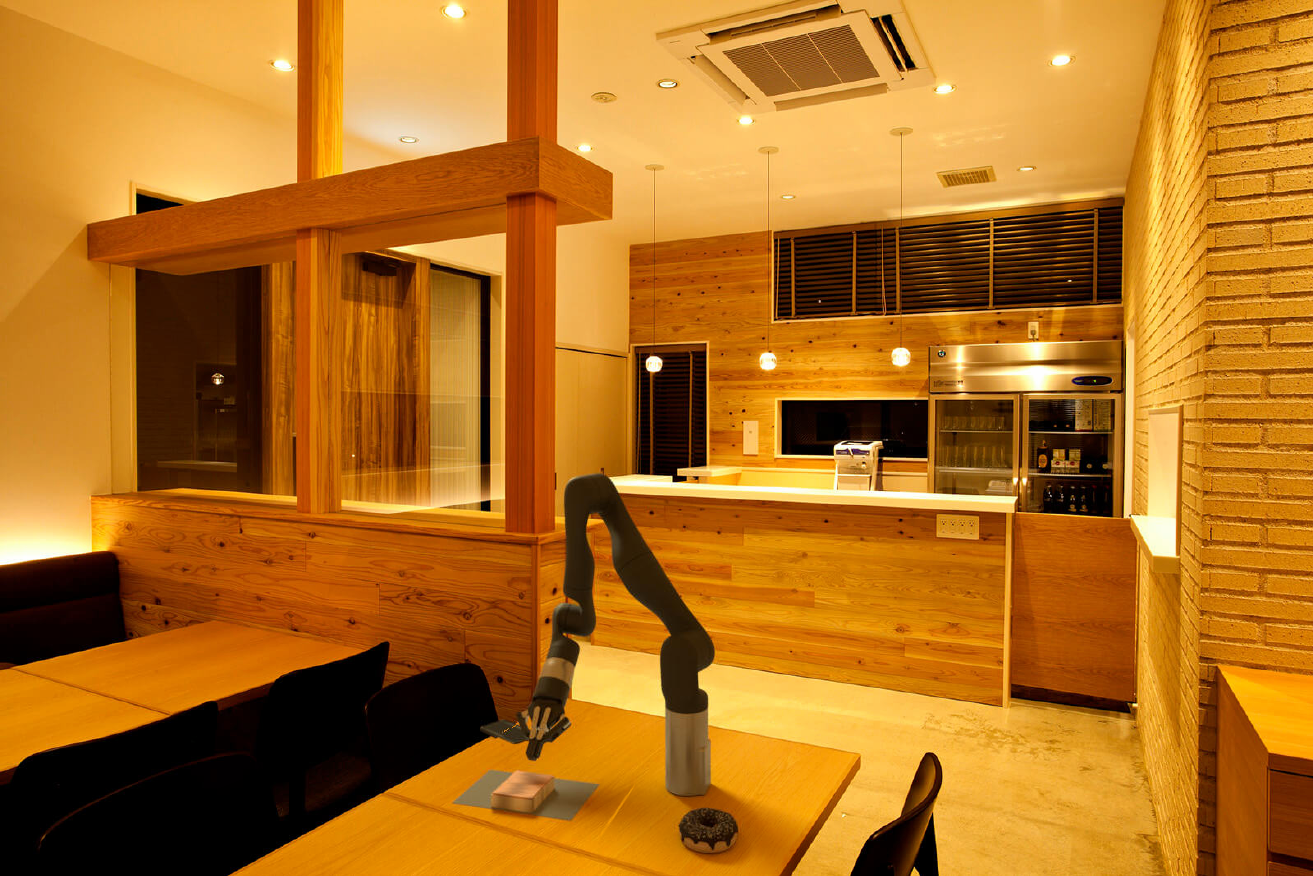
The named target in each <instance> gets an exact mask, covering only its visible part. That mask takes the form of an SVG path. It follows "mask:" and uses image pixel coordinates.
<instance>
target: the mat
mask: <svg viewBox="0 0 1313 876" xmlns="http://www.w3.org/2000/svg"><path fill="white" fill-rule="evenodd" d="M513 773H514V772H511V771H501V770H494V769H489V770H488V771H487V772H486V773H485V774H483V775H482V776H481V777H480V778H479V779H478V780H476V781H475V782H474V783H473V784H471V786H470V787H468V789H466V790H465V791H464V792H463V793H462V794H460V795H459V796H458V797H457V798H455V800H453V801H452V802H451V804H456V805H462V806H469V807H475V808H483V809H490V810H495V811H503V812H510V813H517V814H523V815H529V816H530V815H531V816H537V817H544V818H549V819H550V818H551V819H557V820H565V821H570V822H571V821H572V820H573V818H574V817H575V816H576V815H577V814H578V813H579V811H580V810H581V809H582V807H583V806H584V805H585V803H586V802H587V801H588V799H590V797H591V796H592V795H593V794H594V792H595V791H596V790H597V789H598V787H599V786H600V783H593V782H586V781H579V780H570V779H563V778H556V777H555V788H554V789H553V791H552V792H551V793H550V794H549V795H548V796H547V797H546V798H545V799H544V800H543V802H542V803H541V804H540V805H539V806H538V807H537V808H536V809H535V810H534V811H533V813H529V812H522V811H515V810H508V809H502V808H495V807H491V794H492V793H493V792H494V791H495V790H496V789H497V788H498V787H499V786H500V785H501V784H502V783H503V782H505V781H506V780H507V779H508V778H509V777H510V776H511V775H512V774H513Z"/></svg>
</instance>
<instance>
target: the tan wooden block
mask: <svg viewBox="0 0 1313 876" xmlns="http://www.w3.org/2000/svg"><path fill="white" fill-rule="evenodd" d="M512 773H513V774H512V775H511V776H510V777H509V778H508V779H507V780H506V781H505V782H503V783H502V784H501V785H500V786H499V787H498V788H497V789H496V790H495V791H494V792H493V793H492V794H491V807H495V808H502V809H508V810H515V811H522V812H529V813H533V811H534V810H535V809H536V808H537V807H538V806H539V805H540V804H541V803H542V802H543V800H544V799H545V798H546V797H547V796H548V795H549V794H550V793H551V792H552V791H553V789H554V788H555V778H556V777H555V776H554V775H552V774H547V773H546V774H545V773H544V774H543V773H538V772H530V771H529V772H528V771H521V770H515V771H514V772H512Z"/></svg>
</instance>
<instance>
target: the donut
mask: <svg viewBox="0 0 1313 876" xmlns="http://www.w3.org/2000/svg"><path fill="white" fill-rule="evenodd" d="M677 826H678V834H679V838H680V840H681V843H683V845H684V846H686V847H687V848H689V849H691V850H692V851H695V852H697V853H703V854H718V853H722V852H724V851H727V850H729V849H730V848H731V847H733V845H734V844H735V842H736V841H737V839H738V833H739V826H738V824H737V821H736V819H735V818H734V816H733V815H732V814H731V813H729V812H726V811H723V810H721V809H716V808H710V807H699V808H695V809H691V810H690V811H688V812H686V813H685V814H684V815H683V817H682V818H681V820H680V822H679V824H678V825H677Z"/></svg>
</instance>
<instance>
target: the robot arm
mask: <svg viewBox="0 0 1313 876" xmlns="http://www.w3.org/2000/svg"><path fill="white" fill-rule="evenodd" d="M563 512H564V531H565V532H564V533H565V547H566V548H565V551H566V552H565V564H564V565H565V566H564V576H563V584H562V592H563V595H564V596H565V597H567V598H568V599H570V600H573V601H575V602H576V603H577V604H573V603H569V602H561V603H559V604H557V605H556V606H555V608H554V609H553V612H552V615H551V616H552V617H551V622H552V623H551V625H552V626H551V627H552V628H551V629H552V630H551V640H550V645H549V648H548V652H547V655H546V657H545V661H544V664H543V665H542V668H541V670H540V673H539V676H538V680H537V682H536V685H535V688H534V692H533V694H532V700H531V702H530V704H529V705H528V706H527V709H526V710H524V711H522V712H521V711H517V712H516V714H515V716H516V720H517V723H518V725H520V727H521V730H522V732H523V735H524V736H525V737H526V739H527V741H528V740H529V741H528V743H527V747H526V749H525V756H526V758H527V759H528V760H529V761H531V762H536V761H537V760H538V759H539V758H540V757H541V754H542V750H543V747H544V745H545V744H546V743H554V741H556V740H557V739H558V738H559V737H560V736H562V734H563V733H564V732H566V730H568V729H569V728H570V727H571V726H572V723H571V721H570V718H569V717H567V716H566V715H565V714H566V712H565V708H566V705H567V702H568V698H569V694H570V691H571V688H572V685H573V680H574V676H575V669H576V666H577V664H578V660H579V655H580V652H581V648H580V647H581V646H580V644H579V643H578V642H577V641H576V640H574V639H572V638H570V637H568V636H566V635H565V634H568V635H572V636H577V637H582V638H583V637H586V638H587V637H589V636H590V635H592V634H593V632H594V631H595V628H596V627H597V614H596V609H595V605H594V598H593V587H594V578H595V571H596V569H595V568H596V567H595V566H596V564H595V563H596V562H595V558H594V555H593V551H592V548H591V546H590V543H589V541H588V536H587V529H588V528H587V525H588V521H589V517H590V515H594V514H597V515H599V517H600V518H601V520H602V521H603V523H604V525H605V526H606V529H607V530H608V533H609V535H610V541H611V559H612V564H613V568H614V571H615V573H616V575H618V577H619V579H620V580H621V582H622V584H623V586H624V587H625V588H626V590H627V592H628V594H630V595H631V596H632V597H633V598H634V599H635V600H636V601H637V602H639V604H641V605H642V606H644V607H645V608H646V609H647V610H649V611H650V612H652V613H653V614H654V615H655V616H656V617H658V619H659V620H660V621H661V622H662V624H663V625H664V627H665V628H666V629H667V631H668V633H669V636H668V637H666V638H665V640H664V641H663V642H662V644H661V647H660V652H659V671H660V673H659V674H660V689H661V694H662V696H663V698H664V701H665V702H664V707H665V708H664V719H665V720H664V721H665V722H664V732H665V733H664V734H665V735H664V736H665V737H664V739H665V741H664V742H665V743H664V744H665V745H664V746H665V747H664V750H665V751H664V752H665V753H664V754H665V755H664V758H665V759H664V760H665V761H664V763H665V764H664V767H665V768H664V769H665V771H664V772H665V775H664V780H665V781H664V782H665V783H664V784H665V789H666V791H668V792H670V793H672V794H674V795H676V796H682V797H693V796H698V795H700V796H701V795H702V796H705V795H706V793H707V791H708V789H709V788H710V785H711V783H712V777H711V775H712V767H711V766H712V764H711V763H712V762H711V761H712V757H711V756H712V755H711V754H712V753H711V751H712V747H711V745H712V744H711V743H712V741H711V738H709V695H708V693H707V691H706V690H705V689H702V688H700V685H699V672H702V671H703V670H705V669H708V668H709V666H711V665H712V663H713V662H714V661H715V657H716V656H715V655H716V650H715V645H714V642H713V639H712V637H710V635H709V633H708V631H707V630H706V629H705V627H704V626H703V625H702V624H701V623H700V621H699V620H698V619H697V618H696V616H695V614H694V613H693V612H692V611H691V610H690V609H689V607H688V606H687V605H686V603H685V601H684V600H683V599H682V597H681V595H680V594H679V592H678V590H677V589H676V588H675V586H674V585H673V583H672V582H671V580H670V578H669V577H668V576H667V574H666V572H665V570H664V568H663V567H662V565H661V564H660V561H659V560H658V559H657V557H656V555H655V554H654V553H653V551H652V550H651V548H650V546H648V544H647V542H646V540H645V539H644V537H643V535H642V534H641V532H640V531H639V529H638V527H637V526H636V524H635V522H634V521H633V519H632V517H631V514H630V513H629V512H628V509H627V507H626V505H625V503H624V501H623V499H622V497H621V495H620V492H619V491H618V489H617V487H616V486H615V484H614V482H613V480H612V479H611V478H610V477H609V476H607V475H606V474H604V473H599V472H595V473H590V474H583V475H578V476H577V475H576V476H574V477H572V478H570V479H569V480H568V482H567V483H566V485H565V488H564V492H563ZM529 719H530V722H531V725H530V728H531V729H530V728H529V726H528V722H529ZM529 730H531V732H530V731H529Z"/></svg>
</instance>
